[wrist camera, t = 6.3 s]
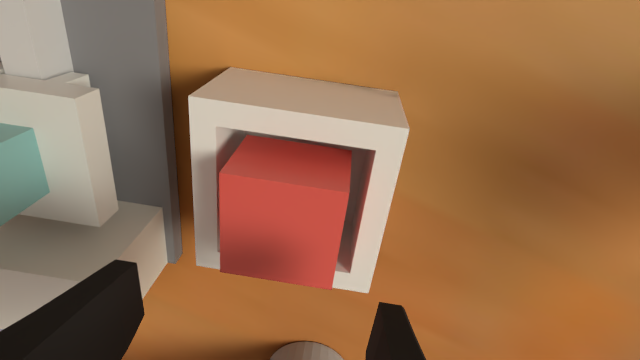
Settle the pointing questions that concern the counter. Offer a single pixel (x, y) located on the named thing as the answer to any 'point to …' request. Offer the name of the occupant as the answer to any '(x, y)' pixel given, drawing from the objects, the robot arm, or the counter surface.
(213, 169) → the box
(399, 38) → the counter surface
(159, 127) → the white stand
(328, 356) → the coffee cup
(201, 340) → the counter surface
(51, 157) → the carriage
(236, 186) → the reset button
